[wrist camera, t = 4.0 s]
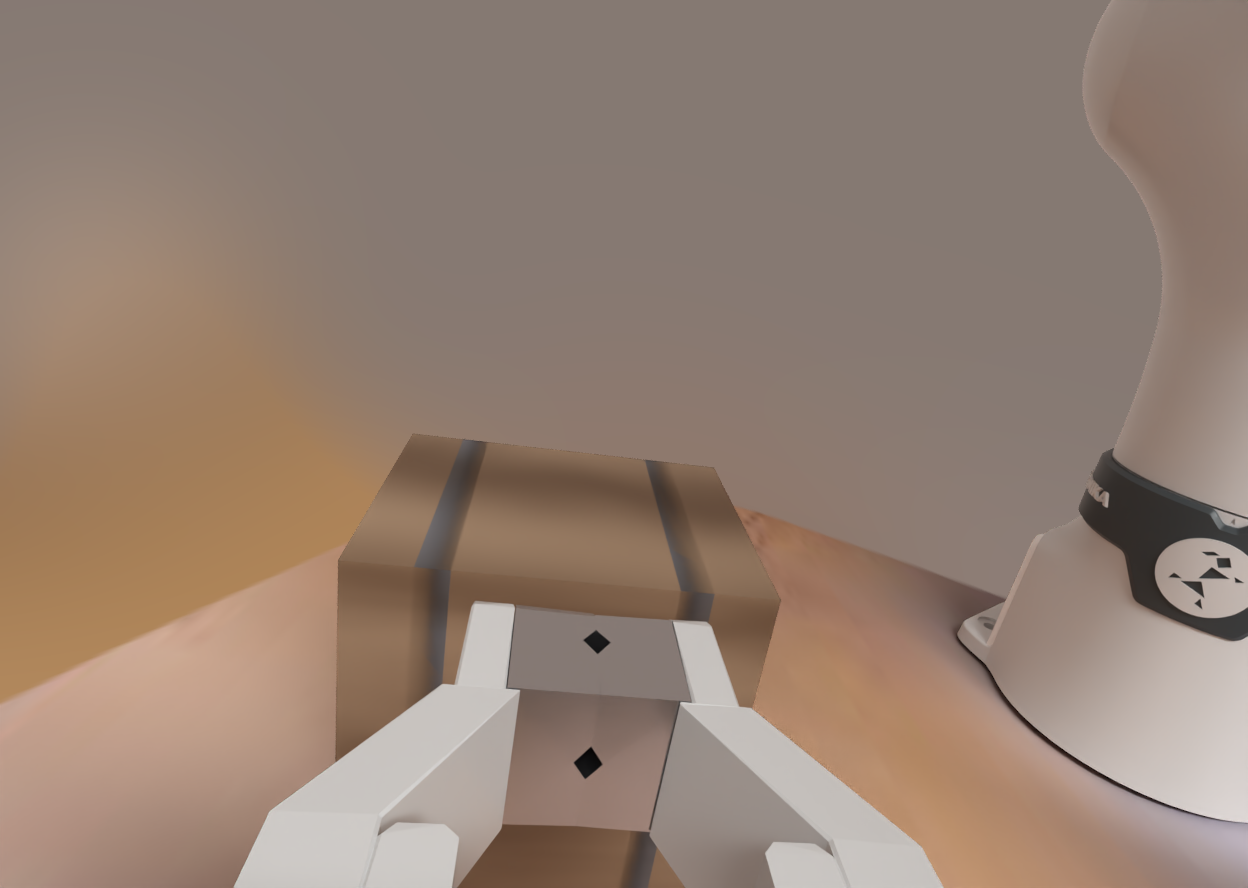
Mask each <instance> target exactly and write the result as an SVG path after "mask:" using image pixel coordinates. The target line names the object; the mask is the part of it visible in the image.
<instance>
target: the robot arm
mask: <svg viewBox="0 0 1248 888" xmlns="http://www.w3.org/2000/svg"><path fill="white" fill-rule="evenodd" d="M1083 102H1084V107H1085V112H1086V116H1087V120H1088V123H1089V125H1090V128H1091V131H1092V132H1093V134H1094V136H1095V138H1096V140H1097V142H1098V143H1099V144H1100V146H1101V147H1102V148H1103V150H1104V151H1105V152H1106V153H1107V154H1108V155H1109V156H1110V157H1111V158H1112V159H1113V160H1114V161H1115V162H1116V163H1117V164H1118V166H1119V167H1120V168H1121V169H1122V170H1123V172H1124V173H1125V174H1126V176H1127V177H1128V178H1129V179H1130V181H1131V182H1132V184H1133V185H1134V187H1135V188H1136V190H1137V191H1138V193H1139V195H1140V197H1141V199H1142V201H1143V202H1144V204H1145V206H1146V209H1147V211H1148V213H1149V215H1150V218H1151V221H1152V224H1153V227H1154V230H1155V233H1156V237H1157V241H1158V246H1159V251H1160V257H1161V265H1162V299H1161V308H1160V314H1159V319H1158V324H1157V328H1156V332H1155V336H1154V339H1153V343H1152V346H1151V350H1150V353H1149V357H1148V360H1147V363H1146V366H1145V369H1144V372H1143V375H1142V378H1141V381H1140V384H1139V387H1138V390H1137V392H1136V395H1135V398H1134V401H1133V404H1132V406H1131V409H1130V411H1129V414H1128V416H1127V419H1126V421H1125V424H1124V426H1123V429H1122V431H1121V434H1120V436H1119V438H1118V441H1117V443H1116V446H1115V448H1113V449H1111V450H1108V451H1106V452H1104V453H1103V454H1102V456H1101V458H1100V460H1099V462H1098V464H1097V466H1096V468H1095V470H1093V471H1092V472H1091V474H1090V476H1089V479H1088V481H1087V483H1086V491H1085V493H1084V496H1083V498H1082V500H1081V503H1080V505H1079V512H1080V514H1081V515H1080V516H1079V517H1077V518H1076V519H1075V520H1073V521H1071V522H1070V523H1068V524H1066V525H1063V526H1061V527H1056V528H1052V529H1050V530H1049V531H1047V532H1046V533H1045V534H1038V535H1036V537H1035V538H1034V540H1033V541H1032V543H1031V545H1030V547H1029V550H1028V552H1027V554H1026V556H1025V558H1024V561H1023V563H1022V565H1021V567H1020V570H1019V572H1018V574H1017V576H1016V578H1015V581H1014V583H1013V585H1012V588H1011V590H1010V592H1009V594H1008V596H1007V599H1006V601H1004V602H1002V603H1000V604H998V605H996V606H994V607H991V608H989V609H987V610H985V611H983V612H981V613H979V614H976V615H974V616H972V617H970V618H968V619H966V620H965V621H964V622H963V624H962V626H961V627H960V629H959V631H958V633H957V635H958V637H959V639H960V640H961V642H962V643H963V644H964V645H965V646H966V647H967V648H968V649H969V650H970V651H971V652H972V653H974V654H975V655H976V656H977V657H978V658H979V659H980V660H981V661H982V662H984V663H985V665H986V666H987V667H988V669H989V670H990V672H991V673H992V675H993V677H994V679H995V681H996V683H997V684H998V686H999V688H1000V689H1001V691H1002V692H1003V694H1004V695H1005V696H1006V698H1007V699H1008V700H1009V701H1010V703H1011V704H1012V705H1013V706H1014V707H1015V708H1016V709H1017V711H1018V712H1019V713H1020V714H1021V715H1022V716H1023V717H1024V718H1025V719H1026V720H1027V721H1029V722H1030V723H1031V724H1032V725H1033V726H1034V727H1035V728H1036V729H1038V730H1039V731H1040V732H1041V733H1042V734H1044V735H1045V736H1046V737H1047V738H1049V739H1050V740H1051V741H1052V742H1054V743H1055V744H1057V745H1058V746H1059V747H1061V748H1062V749H1063V750H1065V751H1066V752H1068V753H1069V754H1071V755H1072V756H1074V757H1075V758H1077V759H1078V760H1080V761H1082V762H1083V763H1085V764H1086V765H1088V766H1090V767H1091V768H1093V769H1095V770H1096V771H1098V772H1100V773H1102V774H1103V775H1105V776H1107V777H1109V778H1111V779H1113V780H1115V781H1117V782H1118V783H1120V784H1122V785H1124V786H1126V787H1128V788H1131V789H1133V790H1135V791H1137V792H1139V793H1141V794H1144V795H1146V796H1148V797H1151V798H1153V799H1155V800H1158V801H1160V802H1163V803H1166V804H1168V805H1171V806H1174V807H1177V808H1180V809H1182V810H1186V811H1189V812H1192V813H1196V814H1199V815H1203V816H1207V817H1211V818H1216V819H1221V820H1227V821H1233V822H1243V823H1248V0H1112V1H1111V2H1110V3H1109V5H1108V7H1107V8H1106V10H1105V12H1104V14H1103V16H1102V17H1101V19H1100V21H1099V23H1098V25H1097V28H1096V30H1095V33H1094V35H1093V38H1092V40H1091V43H1090V46H1089V49H1088V52H1087V57H1086V61H1085V66H1084V73H1083ZM514 612H515V616H514ZM513 621H514V622H513ZM502 824H510V825H553V826H581V827H593V828H606V829H618V830H630V831H642V832H650V835H649V836H650V837H651V839H652V840H653V842H654V843H655V845H656V846H657V848H658V849H659V850H660V852H661V853H662V855H663V856H664V858H665V859H666V861H667V862H668V863H669V865H670V866H671V868H672V869H673V871H674V872H675V874H676V875H677V877H678V878H679V879H680V881H681V882H682V884H683V885H684V887H685V888H944V887H943V886H942V884H941V882H940V880H939V878H938V876H937V874H936V873H935V871H934V869H933V867H932V865H931V863H930V861H929V860H928V858H927V856H926V854H925V852H924V850H923V848H922V847H921V846H920V845H919V844H918V843H916V842H915V841H914V840H913V839H911V838H910V837H909V836H908V835H906V834H905V833H904V832H903V831H902V830H900V829H899V828H898V827H897V826H895V825H894V824H893V823H892V822H891V821H889V820H888V819H887V818H886V817H884V816H883V815H882V814H881V813H879V812H878V811H877V810H876V809H875V808H873V807H872V806H871V805H870V804H868V803H867V802H866V801H865V800H863V799H862V798H861V797H860V796H859V795H857V794H856V793H855V792H854V791H852V790H851V789H850V788H849V787H848V786H846V785H845V784H844V783H843V782H841V781H840V780H839V779H838V778H836V777H835V776H834V775H833V774H832V773H830V772H829V771H828V770H827V769H825V768H824V767H823V766H822V765H821V764H819V763H818V762H817V761H816V760H814V759H813V758H812V757H811V756H809V755H808V754H807V753H806V752H805V751H803V750H802V749H801V748H800V747H798V746H797V745H796V744H795V743H793V742H792V741H791V740H790V739H789V738H787V737H786V736H785V735H784V734H782V733H781V732H780V731H779V730H778V729H776V728H775V727H774V726H773V725H771V724H770V723H769V722H768V721H766V720H765V719H764V718H763V717H762V716H760V715H759V714H758V713H757V712H755V711H754V710H753V709H752V708H746V707H739V704H738V701H737V698H736V695H735V692H734V690H733V687H732V684H731V681H730V678H729V675H728V672H727V669H726V666H725V664H724V661H723V658H722V655H721V652H720V649H719V646H718V643H717V640H716V638H715V635H714V632H713V629H712V626H711V625H710V624H709V623H707V622H702V621H684V620H661V619H647V618H632V617H618V616H604V615H594V614H593V613H584V612H576V611H567V610H558V609H549V608H540V607H532V606H523V605H516V609H515V607H514V605H513V604H507V603H495V602H483V601H475V602H474V603H473V605H472V607H471V611H470V616H469V620H468V625H467V630H466V634H465V639H464V643H463V648H462V653H461V657H460V662H459V666H458V671H457V675H456V680H455V685H451V684H441V685H440V686H438V687H437V688H436V689H434V690H433V691H432V692H430V693H429V694H428V695H426V696H425V697H424V698H422V699H421V700H419V701H418V702H417V703H415V704H414V705H413V706H411V707H410V708H409V709H407V710H406V711H405V712H403V713H402V714H400V715H399V716H398V717H396V718H395V719H394V720H392V721H391V722H390V723H388V724H387V725H386V726H384V727H383V728H382V729H380V730H379V731H377V732H376V733H375V734H373V735H372V736H371V737H369V738H368V739H367V740H365V741H364V742H363V743H361V744H360V745H358V746H357V747H356V748H354V749H353V750H352V751H350V752H349V753H348V754H346V755H345V756H344V757H342V758H341V759H339V760H338V761H337V762H335V763H334V764H333V765H331V766H330V767H329V768H327V769H326V770H325V771H323V772H322V773H320V774H319V775H318V776H316V777H315V778H314V779H312V780H311V781H310V782H308V783H307V784H306V785H304V786H303V787H302V788H300V789H299V790H297V791H296V792H295V793H293V794H292V795H291V796H289V797H288V798H287V799H285V800H284V801H283V802H281V803H280V804H278V805H277V806H276V807H274V808H273V809H272V810H270V812H269V814H268V816H267V818H266V820H265V822H264V824H263V826H262V828H261V831H260V833H259V835H258V837H257V839H256V841H255V843H254V845H253V847H252V849H251V852H250V854H249V856H248V858H247V860H246V862H245V864H244V866H243V868H242V870H241V873H240V875H239V877H238V879H237V881H236V883H235V885H234V887H233V888H457V887H458V886H459V884H460V883H461V882H462V880H463V879H464V878H465V877H466V875H467V874H468V873H469V871H470V870H471V869H472V867H473V866H474V865H475V863H476V862H477V861H478V859H479V858H480V857H481V855H482V854H483V853H484V851H485V850H486V849H487V847H488V846H489V845H490V843H491V842H492V841H493V839H494V838H495V837H496V835H497V834H498V833H499V831H500V830H501V828H502Z"/></svg>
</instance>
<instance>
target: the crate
mask: <svg viewBox="0 0 1248 888" xmlns="http://www.w3.org/2000/svg"><path fill="white" fill-rule="evenodd" d="M475 601H483V602H495V603H507V604H513V605H514V607H515V609H516V605H523V606H532V607H540V608H549V609H558V610H567V611H576V612H584V613H593V614H594V615H604V616H618V617H632V618H647V619H661V620H684V621H702V622H707V623H709V624H710V625H711V626H712V629H713V632H714V635H715V638H716V640H717V643H718V646H719V649H720V652H721V655H722V658H723V661H724V664H725V666H726V669H727V672H728V675H729V678H730V681H731V684H732V687H733V690H734V692H735V695H736V698H737V701H738V704H739V707H746V708H752V707H753V703H754V699H755V696H756V692H757V688H758V684H759V681H760V677H761V673H762V669H763V666H764V662H765V658H766V654H767V651H768V647H769V643H770V639H771V636H772V632H773V628H774V624H775V621H776V617H777V613H778V609H779V606H780V602H781V599H780V597H779V595H778V593H777V591H776V589H775V587H774V585H773V583H772V581H771V579H770V577H769V575H768V573H767V571H766V569H765V568H764V566H763V564H762V562H761V560H760V558H759V556H758V554H757V552H756V550H755V548H754V546H753V544H752V542H751V540H750V538H749V536H748V534H747V532H746V530H745V528H744V526H743V524H742V522H741V520H740V518H739V516H738V514H737V512H736V510H735V508H734V506H733V504H732V503H731V501H730V499H729V497H728V495H727V493H726V491H725V489H724V487H723V485H722V483H721V481H720V479H719V477H718V475H717V473H716V471H715V469H714V468H712V467H704V466H695V465H685V464H677V463H668V462H659V461H650V460H641V459H632V458H624V457H615V456H606V455H598V454H589V453H580V452H570V451H561V450H553V449H544V448H536V447H527V446H517V445H509V444H500V443H491V442H482V441H473V440H465V439H456V438H447V437H438V436H429V435H420V434H412V436H411V438H410V440H409V441H408V443H407V445H406V446H405V448H404V450H403V452H402V453H401V455H400V457H399V458H398V460H397V462H396V463H395V465H394V467H393V468H392V470H391V472H390V474H389V475H388V477H387V478H386V480H385V482H384V484H383V485H382V487H381V489H380V490H379V492H378V494H377V495H376V497H375V499H374V501H373V502H372V504H371V506H370V507H369V509H368V511H367V513H366V514H365V516H364V518H363V519H362V521H361V522H360V524H359V526H358V528H357V529H356V531H355V533H354V534H353V536H352V538H351V539H350V541H349V543H348V544H347V546H346V548H345V550H344V551H343V553H342V555H341V556H340V558H339V560H338V610H337V687H336V762H337V761H338V760H339V759H341V758H342V757H344V756H345V755H346V754H348V753H349V752H350V751H352V750H353V749H354V748H356V747H357V746H358V745H360V744H361V743H363V742H364V741H365V740H367V739H368V738H369V737H371V736H372V735H373V734H375V733H376V732H377V731H379V730H380V729H382V728H383V727H384V726H386V725H387V724H388V723H390V722H391V721H392V720H394V719H395V718H396V717H398V716H399V715H400V714H402V713H403V712H405V711H406V710H407V709H409V708H410V707H411V706H413V705H414V704H415V703H417V702H418V701H419V700H421V699H422V698H424V697H425V696H426V695H428V694H429V693H430V692H432V691H433V690H434V689H436V688H437V687H438V686H440V685H441V684H451V685H455V680H456V675H457V671H458V666H459V662H460V657H461V653H462V648H463V643H464V639H465V634H466V630H467V625H468V620H469V616H470V611H471V607H472V605H473V603H474V602H475ZM514 616H515V612H514ZM513 622H514V621H513ZM649 835H650V832H642V831H630V830H618V829H606V828H593V827H581V826H553V825H510V824H502V828H501V830H500V831H499V833H498V834H497V835H496V837H495V838H494V839H493V841H492V842H491V843H490V845H489V846H488V847H487V849H486V850H485V851H484V853H483V854H482V855H481V857H480V858H479V859H478V861H477V862H476V863H475V865H474V866H473V867H472V869H471V870H470V871H469V873H468V874H467V875H466V877H465V878H464V879H463V880H462V882H461V883H460V884H459V886H458V887H457V888H685V887H684V885H683V884H682V882H681V881H680V879H679V878H678V877H677V875H676V874H675V872H674V871H673V869H672V868H671V866H670V865H669V863H668V862H667V861H666V859H665V858H664V856H663V855H662V853H661V852H660V850H659V849H658V848H657V846H656V845H655V843H654V842H653V840H652V839H651V837H650V836H649Z"/></svg>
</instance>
